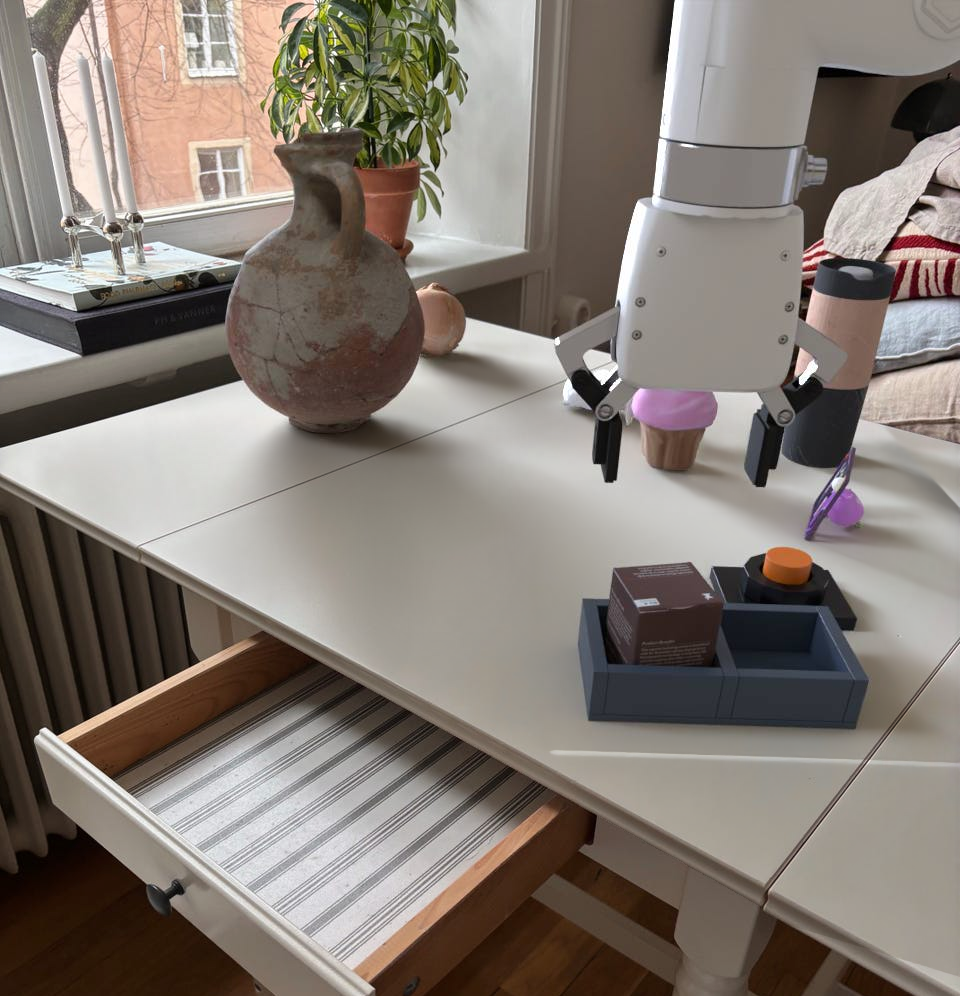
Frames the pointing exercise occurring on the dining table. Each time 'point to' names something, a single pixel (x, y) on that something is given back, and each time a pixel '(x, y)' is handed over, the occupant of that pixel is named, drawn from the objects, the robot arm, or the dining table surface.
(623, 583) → the box
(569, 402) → the bird figurine
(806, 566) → the button
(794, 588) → the push button base
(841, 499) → the purple framed ornament
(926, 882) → the dining table surface
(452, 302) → the onion
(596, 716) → the holder
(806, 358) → the travel mug
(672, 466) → the cupcake
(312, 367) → the jug
